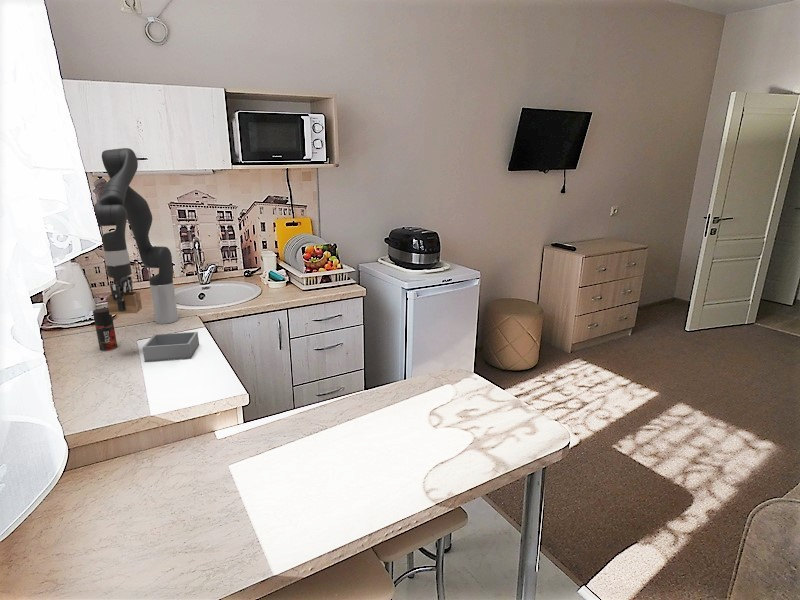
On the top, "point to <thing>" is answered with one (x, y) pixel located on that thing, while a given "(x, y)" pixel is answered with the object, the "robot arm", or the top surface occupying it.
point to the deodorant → (105, 329)
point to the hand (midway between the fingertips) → (125, 308)
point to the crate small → (130, 300)
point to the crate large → (171, 346)
